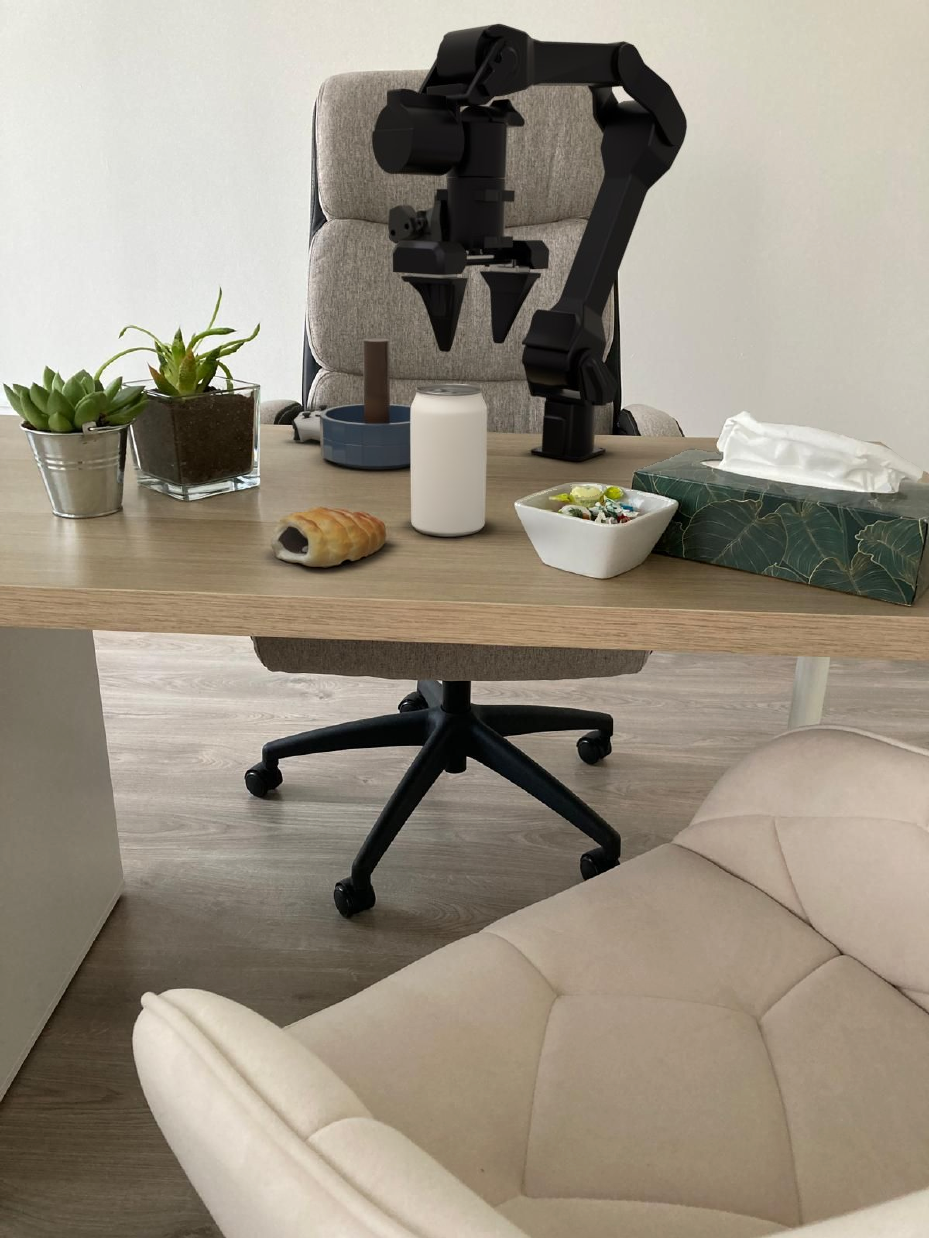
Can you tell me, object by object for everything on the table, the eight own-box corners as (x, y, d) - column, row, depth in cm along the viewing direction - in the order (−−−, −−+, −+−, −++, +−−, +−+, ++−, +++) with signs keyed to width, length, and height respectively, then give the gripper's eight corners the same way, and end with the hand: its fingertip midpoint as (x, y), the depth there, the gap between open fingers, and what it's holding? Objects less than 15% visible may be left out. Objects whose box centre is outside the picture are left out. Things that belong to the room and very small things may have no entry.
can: (474, 541, 86) (477, 396, 82) (401, 534, 87) (399, 392, 83) (492, 520, 92) (495, 384, 87) (423, 515, 93) (423, 381, 89)
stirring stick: (394, 448, 116) (393, 337, 111) (400, 457, 112) (399, 342, 107) (355, 449, 115) (352, 337, 110) (360, 458, 111) (358, 342, 106)
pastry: (351, 532, 88) (350, 488, 86) (407, 549, 84) (407, 504, 82) (263, 556, 81) (261, 510, 80) (320, 577, 77) (318, 528, 76)
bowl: (371, 442, 121) (371, 399, 120) (454, 457, 115) (454, 412, 113) (298, 460, 112) (296, 414, 110) (383, 477, 106) (382, 429, 104)
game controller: (349, 439, 118) (311, 401, 117) (318, 470, 120) (279, 433, 118) (358, 422, 127) (323, 387, 126) (329, 452, 129) (293, 418, 127)
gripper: (465, 181, 109) (462, 333, 114) (346, 175, 94) (350, 348, 100) (555, 181, 102) (547, 342, 108) (442, 174, 88) (440, 359, 94)
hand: (472, 347), depth 103 cm, fingers open, 9 cm apart
